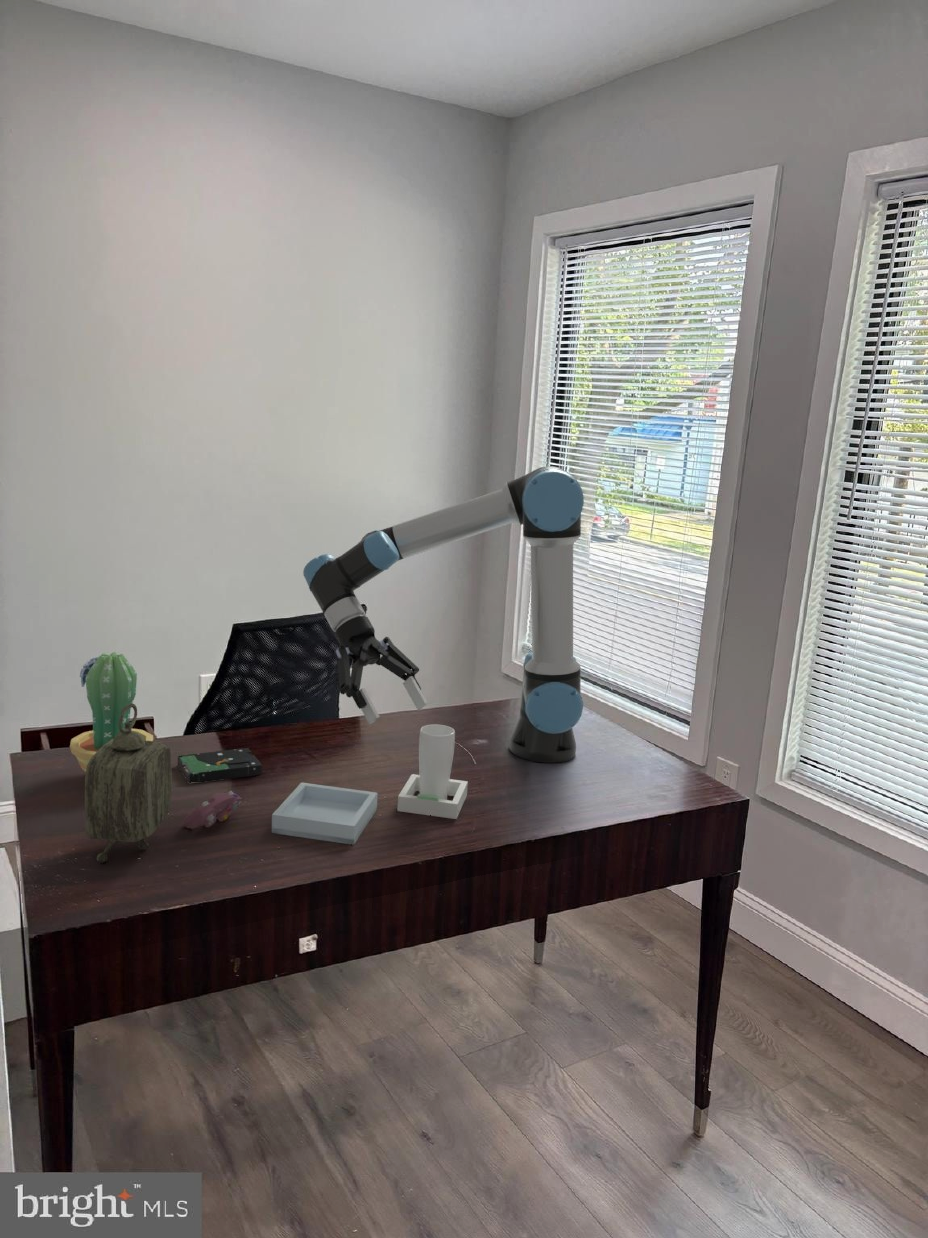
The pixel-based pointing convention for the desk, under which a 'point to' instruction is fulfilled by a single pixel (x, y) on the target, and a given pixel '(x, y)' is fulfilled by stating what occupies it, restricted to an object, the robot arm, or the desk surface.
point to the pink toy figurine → (213, 810)
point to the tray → (325, 813)
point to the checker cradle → (432, 799)
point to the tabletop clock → (127, 788)
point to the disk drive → (219, 765)
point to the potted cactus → (105, 703)
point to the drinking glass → (435, 759)
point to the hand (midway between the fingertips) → (399, 713)
